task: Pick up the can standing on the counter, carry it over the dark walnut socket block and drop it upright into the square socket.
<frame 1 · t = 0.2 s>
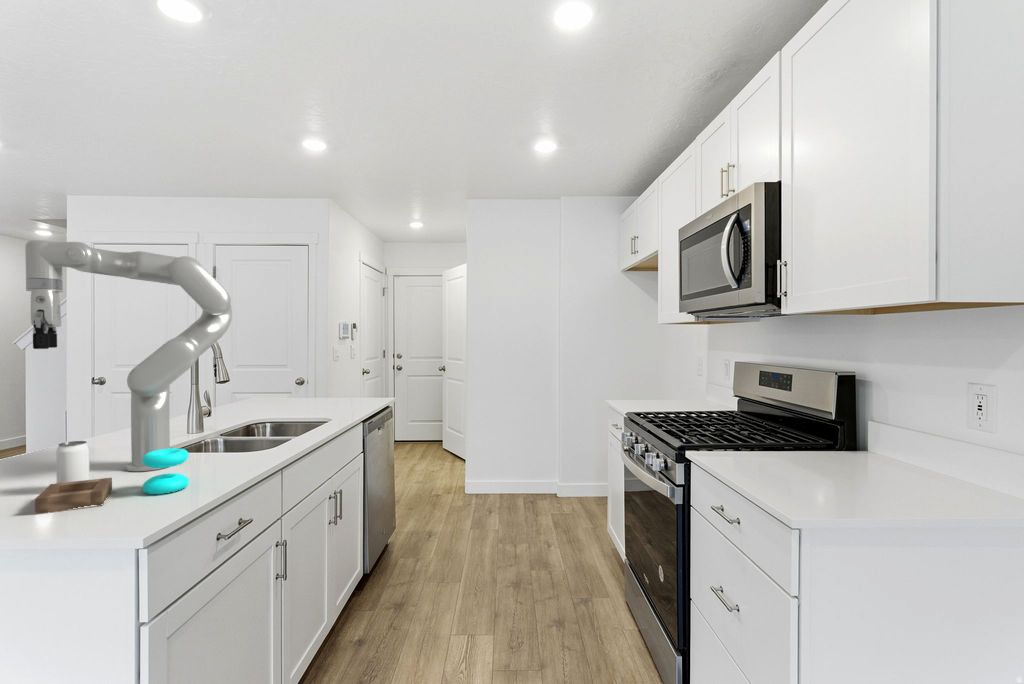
hand: (45, 348, 143), 36 cm above the table, tool pointing down, fingers open, 9 cm apart
socket block: (76, 501, 124), on the table
can: (73, 489, 134), on the table
donuts: (166, 490, 134), on the table
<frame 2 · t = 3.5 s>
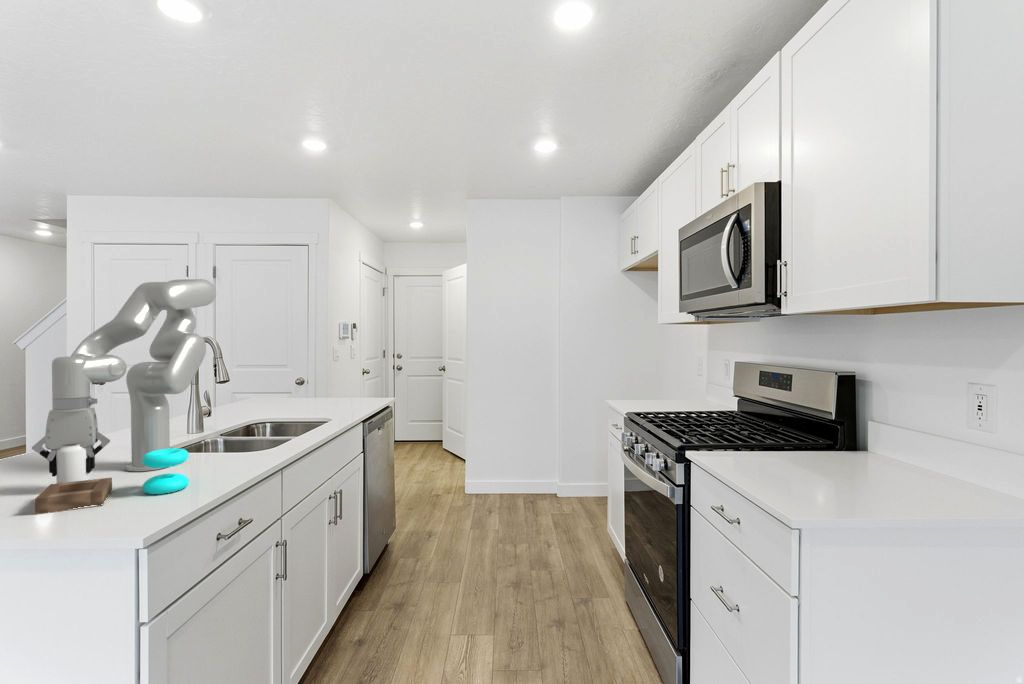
hand: (72, 472, 134), 4 cm above the table, tool pointing down, fingers closed on can, 6 cm apart
can: (73, 489, 134), on the table, touching gripper
everything else where it was.
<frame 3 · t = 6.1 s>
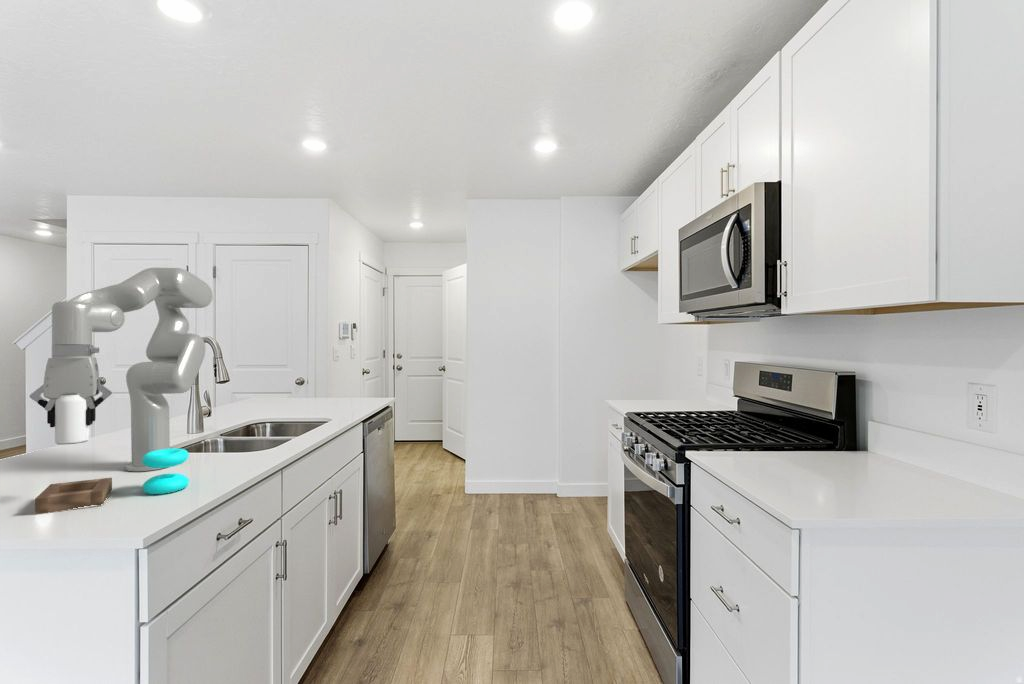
hand: (71, 424, 127), 18 cm above the table, tool pointing down, fingers closed on can, 6 cm apart
can: (72, 442, 127), point 14 cm above the table, touching gripper
everything else where it was.
when the fingers open (5 cm above the table, at t = 9.2 s): can stays where it is, resting on socket block.
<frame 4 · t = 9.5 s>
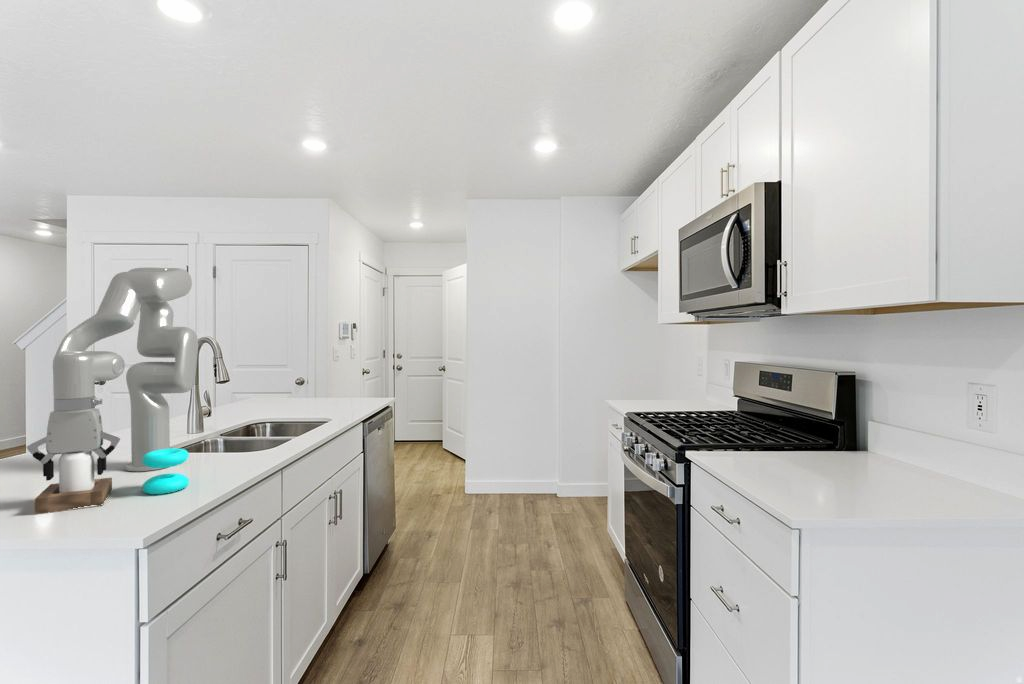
hand: (75, 476, 124), 6 cm above the table, tool pointing down, fingers open, 9 cm apart
can: (77, 500, 125), resting on socket block
everything else where it was.
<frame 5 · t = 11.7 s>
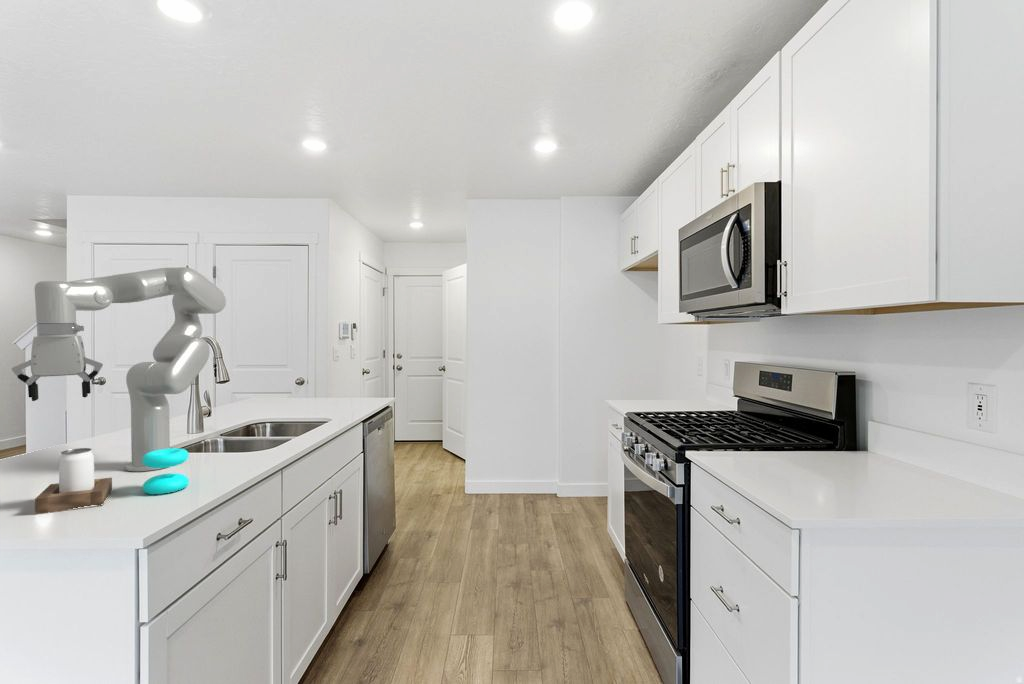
hand: (60, 398, 131), 24 cm above the table, tool pointing down, fingers open, 9 cm apart
nothing on the table moved.
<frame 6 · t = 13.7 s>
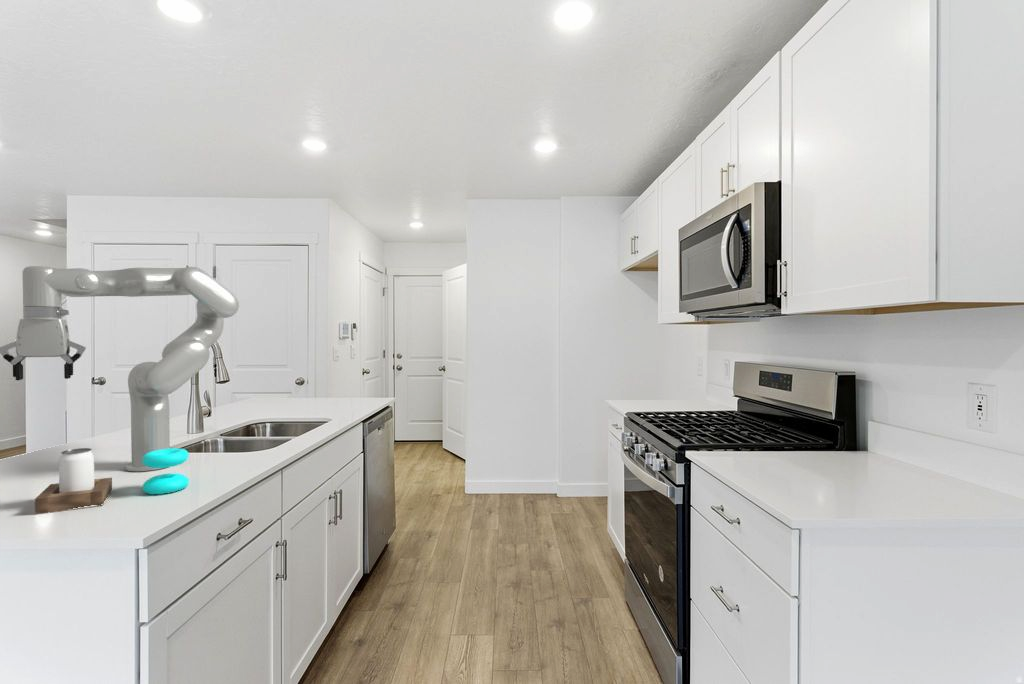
hand: (43, 379, 136), 28 cm above the table, tool pointing down, fingers open, 9 cm apart
nothing on the table moved.
at the end: can 0.4 cm off-centre on the socket block, point 0.1 cm above the socket block's base; can tilted 0°; the gripper is holding nothing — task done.
